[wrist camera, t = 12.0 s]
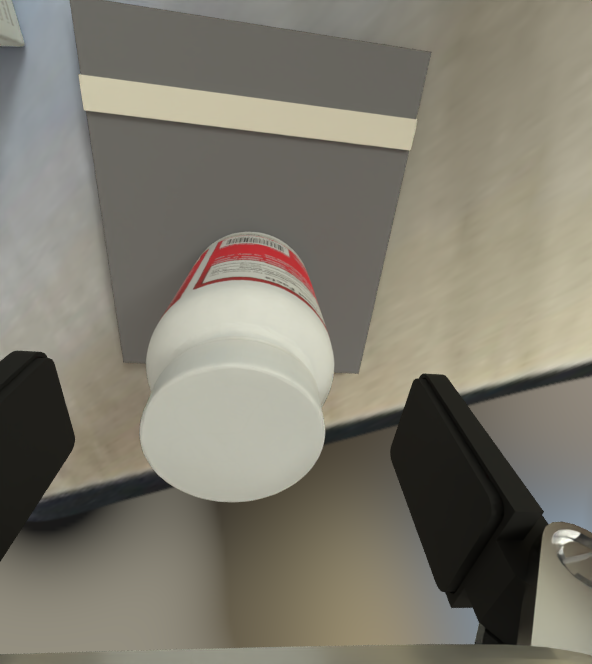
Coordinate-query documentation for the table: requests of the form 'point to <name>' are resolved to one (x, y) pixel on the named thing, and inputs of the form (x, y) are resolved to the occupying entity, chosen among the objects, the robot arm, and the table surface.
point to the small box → (9, 26)
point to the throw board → (243, 154)
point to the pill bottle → (238, 374)
